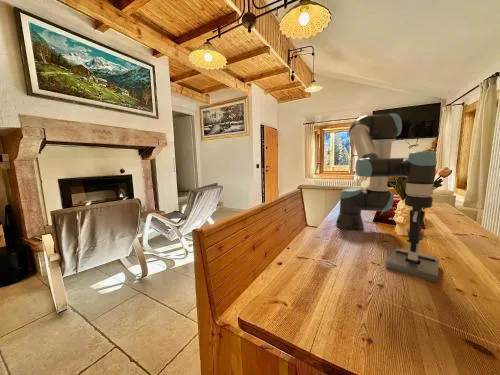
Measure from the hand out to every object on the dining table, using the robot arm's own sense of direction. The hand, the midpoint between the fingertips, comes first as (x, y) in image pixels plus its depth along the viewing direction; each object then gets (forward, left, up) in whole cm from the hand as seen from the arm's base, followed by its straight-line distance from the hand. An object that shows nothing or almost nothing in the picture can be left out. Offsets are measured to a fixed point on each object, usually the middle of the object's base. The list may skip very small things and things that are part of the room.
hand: (413, 257), depth 74 cm
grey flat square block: (0, 0, -4) cm, 4 cm away
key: (0, 0, -3) cm, 3 cm away
